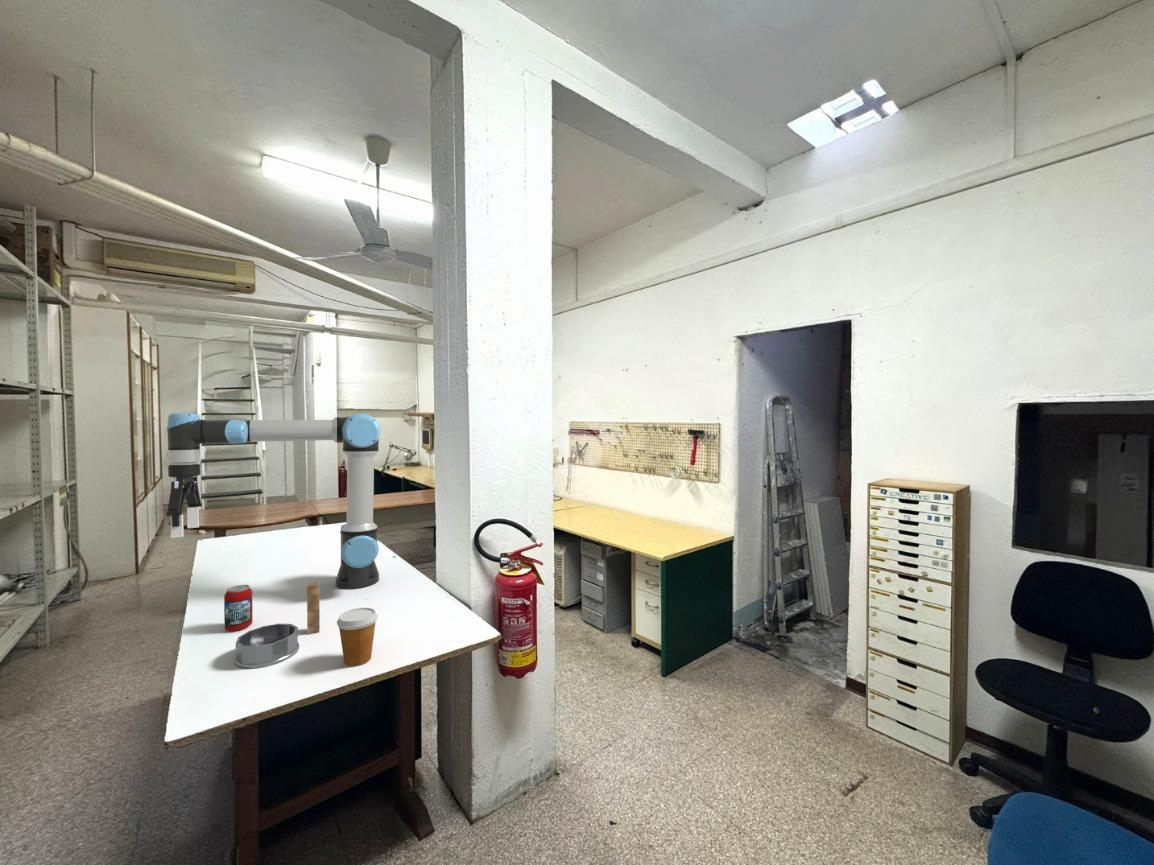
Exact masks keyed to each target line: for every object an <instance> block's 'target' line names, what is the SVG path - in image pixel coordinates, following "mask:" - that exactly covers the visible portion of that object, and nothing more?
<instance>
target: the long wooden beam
mask: <svg viewBox="0 0 1154 865" xmlns="http://www.w3.org/2000/svg"><path fill="white" fill-rule="evenodd" d="M320 608H321V607H320V581H315V582H308V583H307V584H306V612H307V613H306V620H307V621H306V627H307V630H306V631H307V633H306V634H307V635H312V634H317V633H318V634H319V633H320V629H321V628H320V627H321V626H320V625H321V624H320V622H321V620H320V618H321V617H320V616H321V614H320V612H321V611H320Z"/></svg>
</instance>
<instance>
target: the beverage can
mask: <svg viewBox="0 0 1154 865" xmlns="http://www.w3.org/2000/svg"><path fill="white" fill-rule="evenodd" d="M223 596H224V597H223V600H224V601H223V608H224V610H223V612H224V614H223V615H224V617H223V618H224V619H223V620H224V629H225V630H227V631H229V632H238V631H242V630H245V629H247V628H248V627H250V626H251V625H252V624H253V590H252V588H251V586H250V585H249V584H239V585H233V586H231V587H229V588H226V592H225V594H224V595H223Z"/></svg>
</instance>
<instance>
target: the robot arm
mask: <svg viewBox="0 0 1154 865" xmlns="http://www.w3.org/2000/svg"><path fill="white" fill-rule="evenodd" d="M380 426H381V425H380V424H379V422H378V420H376V418H374V417H373V416H372V415H370V414H367V413H355V414H352V415H349V416H337V417H334V418H332V419H279V420H278V419H277V420H276V419H273V420H272V419H271V420H269V419H268V420H267V419H265V420H264V419H261V420H260V419H258V420H257V419H253V420H252V419H250V420H247V419H246V420H244V419H243V420H239V419H211V420H210V419H207V420H206V419H201V416H200V414H198V413H171V414H169V415H168V417H167V427H166V430H167V431H166V432H167V453H166V454H165V456H167V458H168V459H167V460H168V466H167V469H168V470H167V476H168V477H169V478H176V479H175V481H171V483H170V484H171V485H170V494H169V500H168V507H167V511H166V513H165V514H166V517H170V539H174V538H177V539H178V538H184V536H185V534H184V514H183V510H184V506H185V503H186V504H187V506H188V507H187V508H186V515H187V516H186V520H187V522H186V523H187V524H186V525H187V529H194V528H200V518H199V517H200V515H199V512H200V510H199V509H200V508H199V507H203V503H202V501H201V496H200V491H199V485H198V476H200V475H201V473H202V472H201V464H200V462H201V445H207V444H208V445H209V444H210V445H211V444H212V445H213V444H214V445H216V444H219V445H220V444H222V445H223V444H226V445H229V444H232V445H236V444H244V443H250V442H253V443H254V442H256V443H257V442H302V441H303V442H305V441H310V442H311V441H312V442H313V441H333V442H335V443H336V444H337V443H338V444H340V443H342V453H343V454H345V455H346V457H347V460H346V461H347V462H346V465H347V466H346V468H347V469H346V523H344V524H342V525H341V526H340V531H339V534H340V565H339V569H338V572H337V575H336V578H335V587H337V588H339V589H345V590H347V589H348V590H350V589H351V590H353V589H354V590H355V589H361V588H365V587H369V586H373V585H375V584H376V583H378V582H379V580H380V572H379V570H378V567H377V564H376V558H377V556H378V555H379V549H380V547H379V544H378V525H377V524H376V523H375V522H374V479H375V477H374V475H375V474H374V471H375V466H374V465H375V464H374V462H375V456H376V455H377V454H378V453H379V451H380V450H379V444H380V443H379V441H380V435H381V427H380Z"/></svg>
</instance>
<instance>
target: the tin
mask: <svg viewBox="0 0 1154 865" xmlns="http://www.w3.org/2000/svg"><path fill="white" fill-rule="evenodd" d="M298 636H299V627H298V626H296V625H294V624H292V623H276V624H275V623H274V624H268V625H263V626H260V627H257V628H254V629H251V630H248V631H246V632H245V633H243V634H241V635H240V636H238V637H237V640H236V642H235V656H234V657H235V658H234V664H235V666H236V667H238V668H239V669H240V668H241V669H245V670H249V669H250V670H252V669H260V668H266V667H270V666H271V667H272V666H273V665H277V664H279V663H282V662H284V661H286V660H288V659H291V658H292V657H294V655H296V654H297V653H298V652H299V649H300V643H299V642H298V641H299V637H298Z"/></svg>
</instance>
